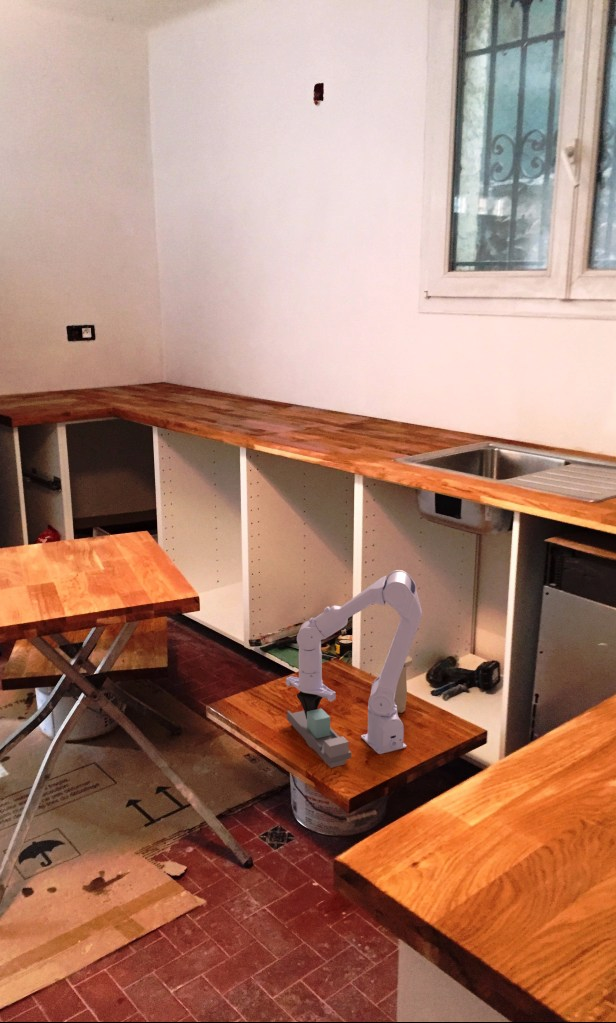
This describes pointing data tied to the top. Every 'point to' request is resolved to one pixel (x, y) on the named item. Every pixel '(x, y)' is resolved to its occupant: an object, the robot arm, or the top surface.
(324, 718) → the rider
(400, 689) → the handle
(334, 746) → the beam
